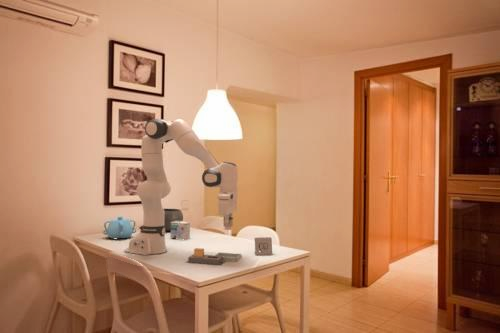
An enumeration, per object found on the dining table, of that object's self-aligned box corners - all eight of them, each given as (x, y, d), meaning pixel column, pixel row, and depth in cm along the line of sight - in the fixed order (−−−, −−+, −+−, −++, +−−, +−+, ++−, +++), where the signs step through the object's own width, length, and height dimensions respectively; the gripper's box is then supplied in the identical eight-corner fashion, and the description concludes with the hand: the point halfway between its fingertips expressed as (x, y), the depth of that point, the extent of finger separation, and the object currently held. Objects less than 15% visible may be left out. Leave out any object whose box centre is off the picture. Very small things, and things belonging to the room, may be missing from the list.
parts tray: (213, 261, 182) (213, 256, 182) (218, 257, 191) (219, 252, 191) (236, 263, 179) (236, 258, 179) (241, 259, 188) (241, 254, 188)
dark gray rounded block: (168, 234, 252) (169, 212, 252) (147, 231, 262) (147, 209, 262) (188, 230, 269) (188, 209, 269) (167, 227, 280) (168, 207, 280)
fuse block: (184, 264, 176) (185, 257, 176) (191, 260, 183) (191, 253, 183) (221, 267, 171) (221, 260, 171) (226, 263, 179) (226, 256, 179)
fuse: (193, 261, 178) (194, 249, 178) (195, 260, 180) (195, 248, 180) (202, 262, 177) (202, 249, 177) (203, 261, 179) (204, 248, 179)
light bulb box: (170, 238, 236) (170, 221, 236) (175, 237, 243) (176, 220, 243) (184, 240, 232) (184, 223, 232) (190, 238, 239) (190, 221, 239)
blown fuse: (223, 229, 184) (223, 217, 184) (224, 228, 186) (225, 216, 186) (231, 230, 183) (231, 217, 183) (232, 229, 185) (233, 217, 185)
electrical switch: (255, 255, 196) (255, 237, 197) (253, 254, 201) (253, 237, 202) (272, 255, 198) (272, 237, 198) (270, 254, 203) (270, 236, 204)
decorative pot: (120, 234, 247) (120, 214, 247) (138, 237, 240) (138, 216, 240) (100, 238, 233) (100, 217, 233) (119, 241, 226) (119, 219, 226)
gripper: (228, 192, 195) (228, 219, 195) (216, 195, 176) (215, 224, 176) (240, 193, 194) (239, 219, 194) (228, 196, 174) (228, 225, 174)
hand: (228, 222), depth 185 cm, fingers closed on blown fuse, 2 cm apart
